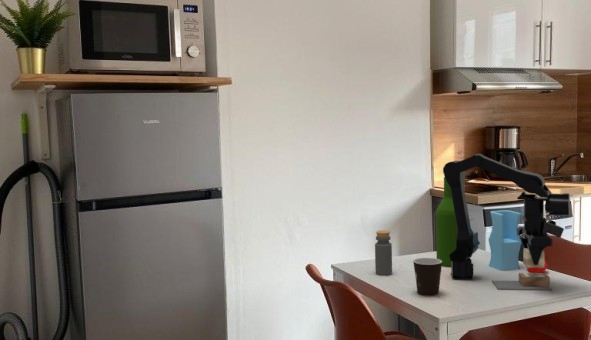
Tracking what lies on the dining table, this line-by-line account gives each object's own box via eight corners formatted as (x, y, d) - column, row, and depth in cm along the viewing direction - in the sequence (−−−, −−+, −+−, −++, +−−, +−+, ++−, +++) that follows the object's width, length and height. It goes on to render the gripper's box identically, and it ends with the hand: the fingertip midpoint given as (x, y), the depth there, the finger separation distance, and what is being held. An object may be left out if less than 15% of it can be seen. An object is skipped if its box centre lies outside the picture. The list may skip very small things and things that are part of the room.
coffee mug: (437, 298, 165) (436, 265, 165) (409, 294, 170) (409, 262, 169) (448, 288, 175) (448, 257, 174) (422, 285, 180) (421, 254, 179)
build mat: (497, 289, 172) (497, 288, 172) (492, 281, 181) (492, 280, 181) (552, 290, 170) (552, 289, 170) (543, 282, 179) (543, 281, 179)
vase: (501, 270, 194) (501, 214, 192) (488, 265, 202) (488, 211, 200) (521, 268, 196) (521, 213, 194) (507, 263, 203) (507, 209, 202)
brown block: (522, 286, 173) (522, 276, 173) (518, 282, 178) (518, 272, 178) (549, 286, 172) (549, 277, 172) (545, 282, 177) (545, 273, 177)
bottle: (373, 275, 194) (372, 232, 193) (377, 270, 199) (376, 229, 198) (390, 276, 192) (389, 233, 190) (393, 271, 197) (393, 230, 196)
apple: (553, 258, 187) (536, 246, 194) (537, 264, 185) (520, 251, 192) (551, 274, 190) (534, 262, 197) (534, 280, 189) (518, 267, 195)
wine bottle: (464, 266, 201) (463, 177, 199) (439, 267, 201) (438, 178, 199) (457, 261, 210) (456, 175, 207) (434, 261, 210) (432, 176, 208)
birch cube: (527, 267, 173) (527, 251, 172) (523, 263, 178) (523, 248, 177) (544, 267, 172) (544, 251, 172) (539, 263, 177) (539, 248, 177)
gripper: (571, 218, 163) (570, 270, 164) (551, 209, 182) (551, 256, 183) (531, 218, 165) (531, 270, 166) (516, 209, 183) (516, 255, 184)
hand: (533, 262), depth 175 cm, fingers closed on birch cube, 5 cm apart
